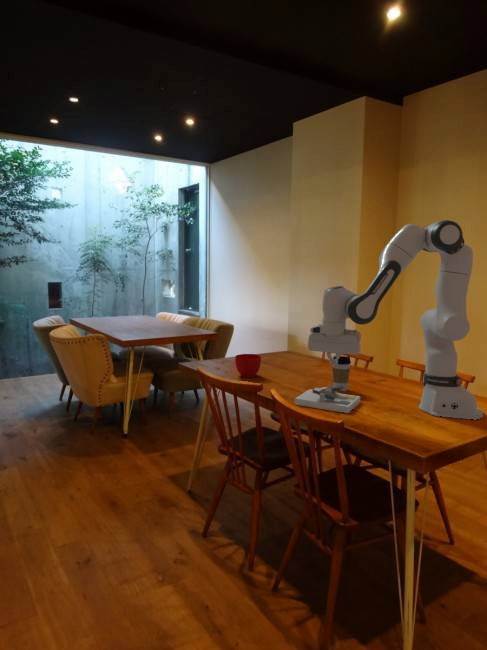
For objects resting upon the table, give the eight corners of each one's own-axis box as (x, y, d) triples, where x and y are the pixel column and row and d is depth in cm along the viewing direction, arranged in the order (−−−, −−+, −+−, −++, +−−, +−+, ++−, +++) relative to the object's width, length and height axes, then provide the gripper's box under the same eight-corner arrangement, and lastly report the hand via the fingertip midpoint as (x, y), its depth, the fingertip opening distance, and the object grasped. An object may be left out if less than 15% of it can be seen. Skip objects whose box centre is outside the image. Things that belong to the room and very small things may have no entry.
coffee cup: (336, 392, 201) (337, 359, 199) (327, 387, 209) (328, 355, 207) (353, 391, 203) (354, 358, 201) (344, 386, 211) (345, 354, 209)
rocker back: (343, 388, 188) (342, 385, 188) (340, 390, 184) (339, 387, 184) (323, 390, 192) (322, 387, 192) (319, 392, 189) (319, 389, 189)
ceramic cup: (262, 371, 240) (262, 352, 239) (260, 379, 224) (260, 359, 222) (237, 370, 242) (237, 352, 240) (233, 378, 225) (233, 358, 224)
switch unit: (360, 402, 187) (360, 388, 186) (348, 413, 173) (349, 398, 172) (309, 394, 198) (309, 381, 197) (294, 404, 184) (295, 390, 183)
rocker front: (336, 397, 181) (337, 394, 181) (333, 400, 178) (334, 397, 177) (315, 390, 185) (316, 387, 185) (312, 392, 182) (312, 389, 181)
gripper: (363, 329, 174) (362, 364, 176) (312, 326, 184) (312, 360, 186) (358, 331, 169) (357, 368, 170) (306, 328, 179) (306, 363, 180)
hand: (333, 363), depth 178 cm, fingers closed
